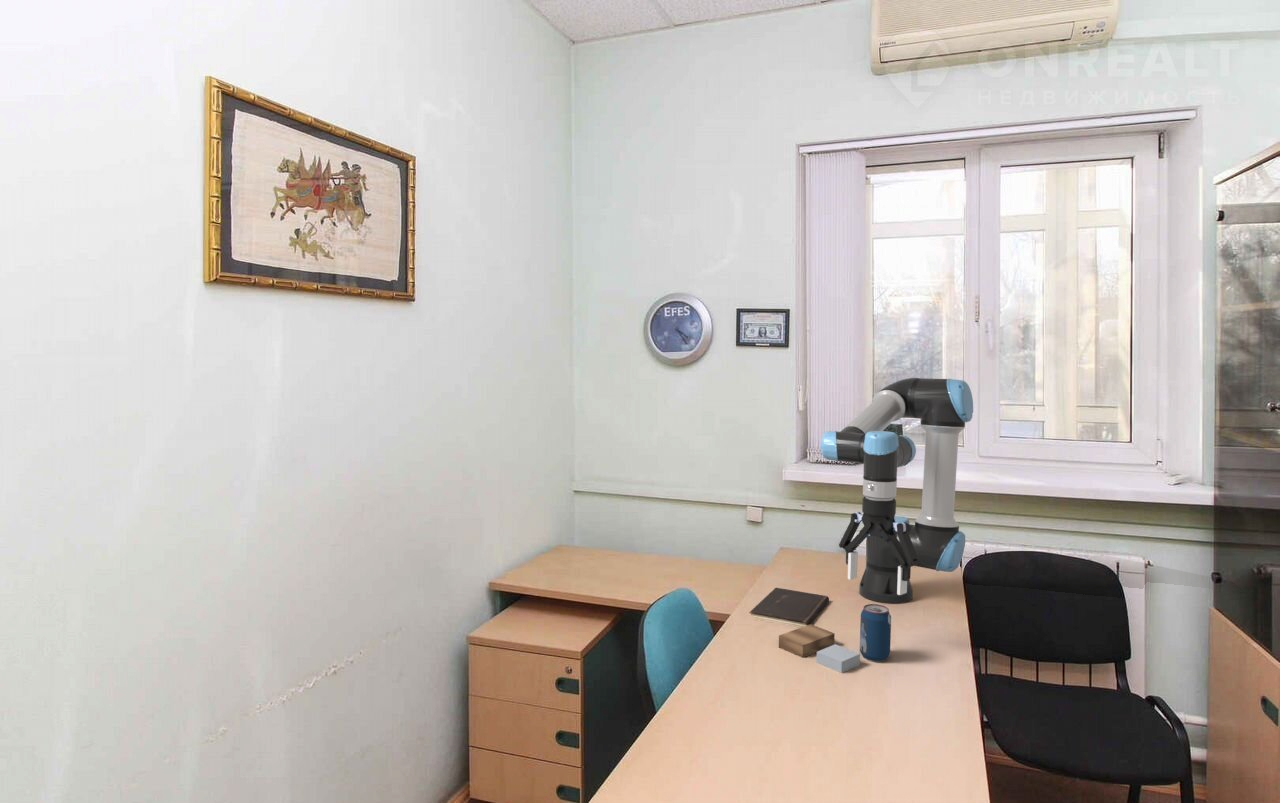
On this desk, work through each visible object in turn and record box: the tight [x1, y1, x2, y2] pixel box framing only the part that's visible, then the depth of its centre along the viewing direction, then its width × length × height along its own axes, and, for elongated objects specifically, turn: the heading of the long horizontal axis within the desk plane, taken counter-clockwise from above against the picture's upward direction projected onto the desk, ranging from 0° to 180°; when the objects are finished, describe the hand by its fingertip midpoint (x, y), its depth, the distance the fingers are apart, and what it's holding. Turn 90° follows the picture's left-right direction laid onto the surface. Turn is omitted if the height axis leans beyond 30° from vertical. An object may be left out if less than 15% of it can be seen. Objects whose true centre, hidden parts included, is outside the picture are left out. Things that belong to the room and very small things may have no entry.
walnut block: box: [778, 624, 835, 658], centre depth 184 cm, size 12×8×3 cm, turn 128°
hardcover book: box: [749, 587, 830, 628], centre depth 209 cm, size 16×23×2 cm
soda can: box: [859, 603, 892, 663], centre depth 177 cm, size 7×7×12 cm
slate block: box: [816, 643, 861, 674], centre depth 174 cm, size 7×7×3 cm
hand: (876, 586), depth 176 cm, fingers open, 13 cm apart
